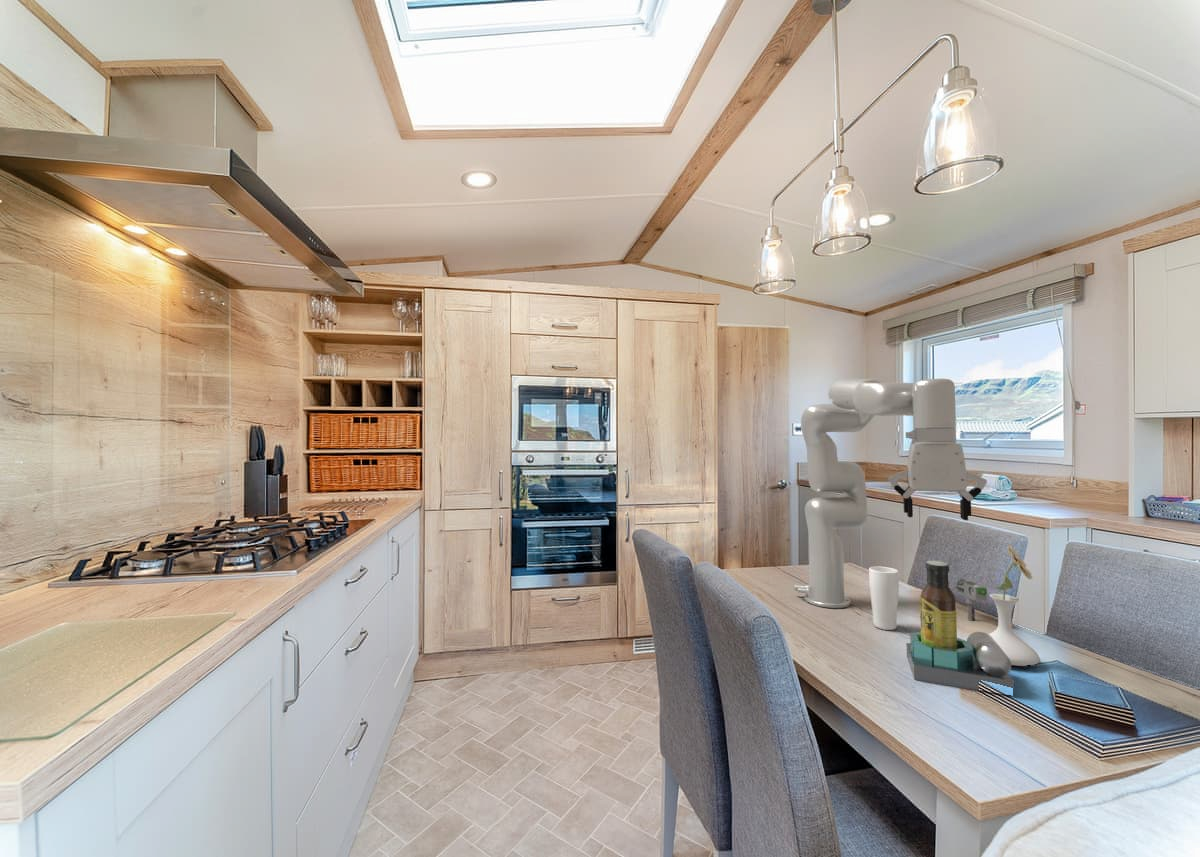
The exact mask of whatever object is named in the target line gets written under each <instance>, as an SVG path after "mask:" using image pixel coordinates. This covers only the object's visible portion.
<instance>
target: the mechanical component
mask: <svg viewBox="0 0 1200 857" xmlns="http://www.w3.org/2000/svg"><path fill="white" fill-rule="evenodd" d="M955 591H956V592H957V593H958V594H959V595H961V596H963V597H965V600H964V603H966V605H967V620H968V619H969V620H968V621H976V608H975V607H976V605H977V604H978V602H977V601H987V595H988V588H987V587H986V586H984V585H981V584H979V583H977V582H975V581H969V580H968V581H967V580H966V579H964V578H956V579H955ZM973 619H974V620H973Z"/></svg>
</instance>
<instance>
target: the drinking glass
mask: <svg viewBox="0 0 1200 857" xmlns="http://www.w3.org/2000/svg"><path fill="white" fill-rule="evenodd" d="M868 584H869V585H868V586H869V587H868V588H869V594H870V595H869V596H870V603H871V612H872V625H873V626H874V627H875V628H877V629H880V630H884V631H894V630H896V629H897V625H898V624H897V621H898V620H897V617H898V603H899V602H898V601H899V593H900V592H899V591H900V590H899V589H900V577H899V570H898V569H896V568H892V567H887V566H880V565H879V566H876V565H875V566H870V567H869V568H868Z"/></svg>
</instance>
